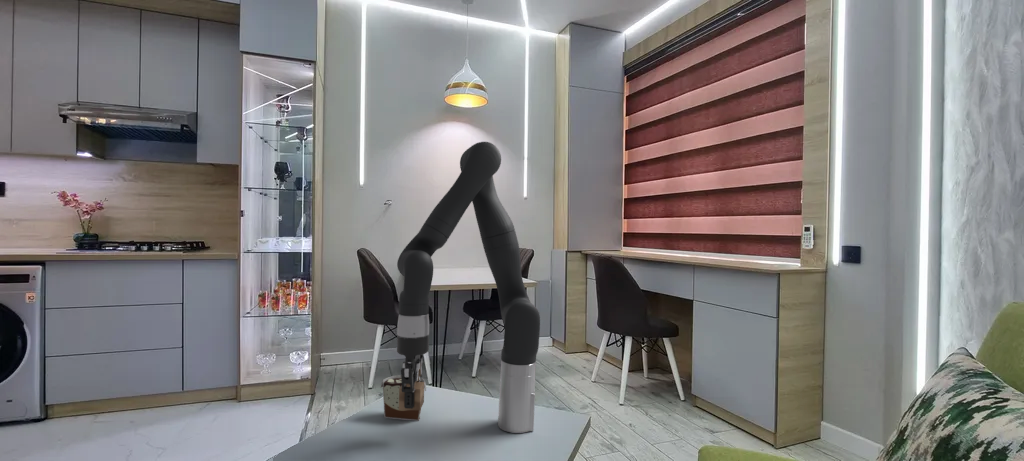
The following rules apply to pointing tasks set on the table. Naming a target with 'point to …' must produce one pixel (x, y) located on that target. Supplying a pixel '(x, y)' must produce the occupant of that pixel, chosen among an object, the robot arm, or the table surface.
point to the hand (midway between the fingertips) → (411, 403)
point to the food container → (396, 400)
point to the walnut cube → (417, 397)
